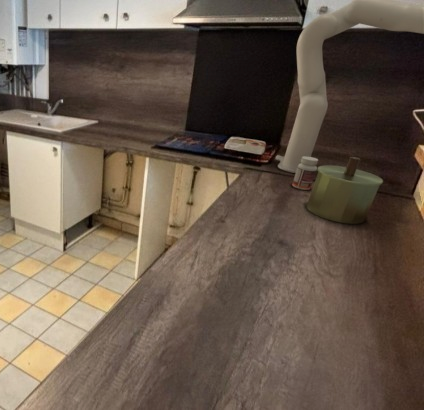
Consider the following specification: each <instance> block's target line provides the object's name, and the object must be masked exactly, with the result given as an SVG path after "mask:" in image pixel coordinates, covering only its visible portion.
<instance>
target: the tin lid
mask: <svg viewBox="0 0 424 410" xmlns="http://www.w3.org/2000/svg"><path fill="white" fill-rule="evenodd" d="M360 162H361V158H360V157H356V156H350V157H349V159H348V162H347V164H346V166H340V165H330V164H329V165H325V164H324V165H320V166H318V167H317V171H316V172H317V173H318V172H319V173H321V174H322V175H324V176H327V177H329V178H332V179H335V180H339V181H343V182H347V183H352V184H358V185H368V186H376V185H380V186H381V185H382V184H383V183H384V179H383V178H381V177H380V176H378V175H377V174H373V173H370V172H369V171H368V172H367V171H364V170H362V169H358V167H359V165H360Z"/></svg>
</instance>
